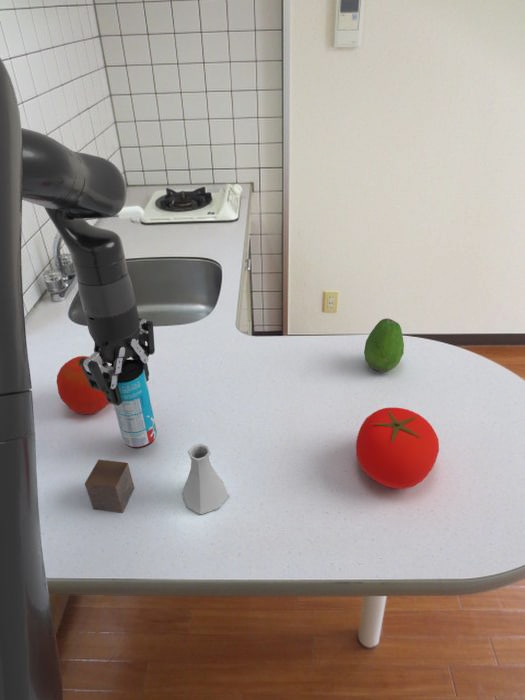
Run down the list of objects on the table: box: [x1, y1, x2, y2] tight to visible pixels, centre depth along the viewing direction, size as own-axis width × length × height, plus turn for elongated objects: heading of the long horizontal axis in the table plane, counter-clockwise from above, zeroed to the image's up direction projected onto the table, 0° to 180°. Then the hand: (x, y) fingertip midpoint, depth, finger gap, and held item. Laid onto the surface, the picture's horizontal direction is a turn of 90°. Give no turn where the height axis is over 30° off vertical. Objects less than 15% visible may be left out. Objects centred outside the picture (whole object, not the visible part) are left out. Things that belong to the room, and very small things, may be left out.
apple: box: [56, 355, 110, 415], centre depth 100 cm, size 10×10×12 cm
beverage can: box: [108, 358, 158, 450], centre depth 88 cm, size 6×6×15 cm
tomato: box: [355, 407, 440, 489], centre depth 84 cm, size 14×13×10 cm
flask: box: [181, 443, 230, 515], centre depth 81 cm, size 7×7×10 cm
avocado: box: [363, 317, 405, 372], centre depth 107 cm, size 8×8×12 cm
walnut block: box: [84, 459, 135, 514], centre depth 83 cm, size 5×5×6 cm
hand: (129, 391), depth 86 cm, fingers closed on beverage can, 6 cm apart
